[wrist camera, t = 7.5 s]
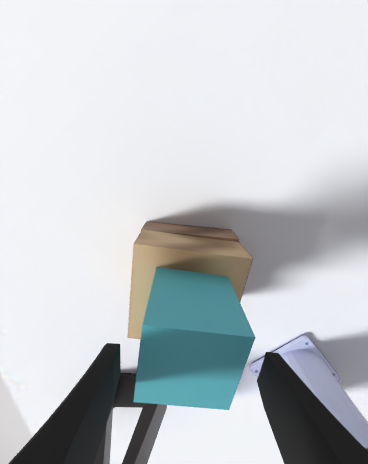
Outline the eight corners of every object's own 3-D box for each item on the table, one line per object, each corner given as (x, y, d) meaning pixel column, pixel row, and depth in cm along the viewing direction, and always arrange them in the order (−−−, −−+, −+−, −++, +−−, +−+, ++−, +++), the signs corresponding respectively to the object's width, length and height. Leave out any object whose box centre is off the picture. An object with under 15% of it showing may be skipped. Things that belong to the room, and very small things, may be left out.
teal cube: (227, 276, 13) (255, 337, 8) (213, 331, 15) (228, 409, 10) (156, 266, 13) (142, 325, 8) (148, 324, 14) (133, 402, 9)
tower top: (239, 242, 15) (252, 258, 13) (219, 318, 18) (227, 346, 15) (142, 229, 15) (133, 243, 12) (136, 310, 17) (127, 337, 15)
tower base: (229, 228, 18) (238, 239, 15) (216, 296, 21) (222, 316, 18) (147, 220, 18) (141, 230, 15) (144, 290, 20) (138, 310, 18)
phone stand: (168, 374, 24) (159, 561, 13) (166, 404, 26) (156, 590, 14) (97, 372, 23) (20, 562, 12) (100, 403, 25) (36, 593, 14)
